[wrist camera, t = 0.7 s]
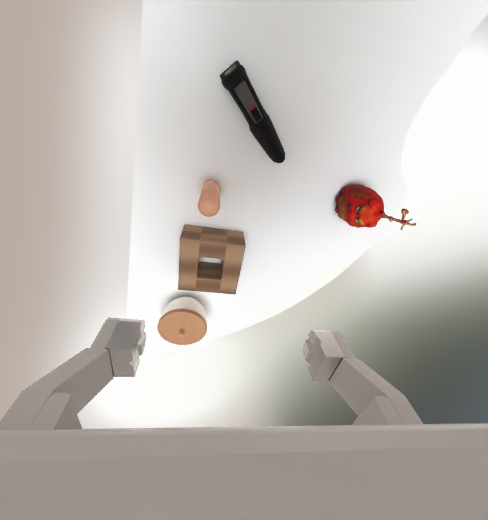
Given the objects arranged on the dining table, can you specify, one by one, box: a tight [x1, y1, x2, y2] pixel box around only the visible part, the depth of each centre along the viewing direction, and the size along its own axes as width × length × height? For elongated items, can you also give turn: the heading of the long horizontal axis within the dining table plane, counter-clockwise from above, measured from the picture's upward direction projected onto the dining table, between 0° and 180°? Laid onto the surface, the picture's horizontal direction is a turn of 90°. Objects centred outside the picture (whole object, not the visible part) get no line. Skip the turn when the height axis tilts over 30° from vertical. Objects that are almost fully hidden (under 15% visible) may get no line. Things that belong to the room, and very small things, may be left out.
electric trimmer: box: [220, 61, 285, 163], centre depth 37 cm, size 4×16×3 cm, turn 34°
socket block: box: [178, 225, 245, 294], centre depth 48 cm, size 12×12×6 cm
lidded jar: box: [158, 296, 207, 345], centre depth 55 cm, size 11×11×9 cm
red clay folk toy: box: [335, 185, 416, 230], centre depth 41 cm, size 8×7×15 cm
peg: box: [198, 180, 220, 217], centre depth 39 cm, size 3×3×10 cm
